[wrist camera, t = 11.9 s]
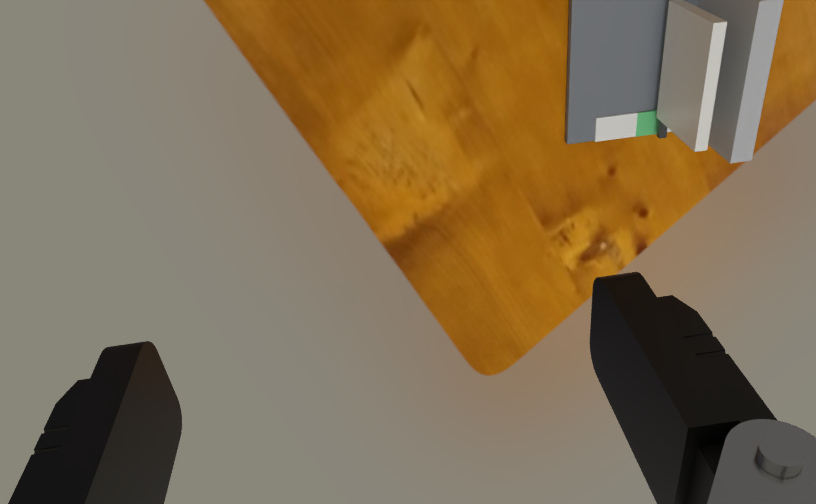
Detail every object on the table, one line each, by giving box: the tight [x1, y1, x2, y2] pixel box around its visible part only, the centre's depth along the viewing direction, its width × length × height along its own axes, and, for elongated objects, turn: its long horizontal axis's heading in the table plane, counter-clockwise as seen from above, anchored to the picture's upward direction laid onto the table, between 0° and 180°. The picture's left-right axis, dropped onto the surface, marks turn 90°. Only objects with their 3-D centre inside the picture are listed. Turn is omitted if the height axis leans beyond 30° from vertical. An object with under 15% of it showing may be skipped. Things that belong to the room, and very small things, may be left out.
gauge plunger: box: [656, 0, 727, 152], centre depth 43 cm, size 9×1×6 cm, turn 6°
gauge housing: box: [565, 0, 784, 163], centre depth 43 cm, size 11×10×8 cm
